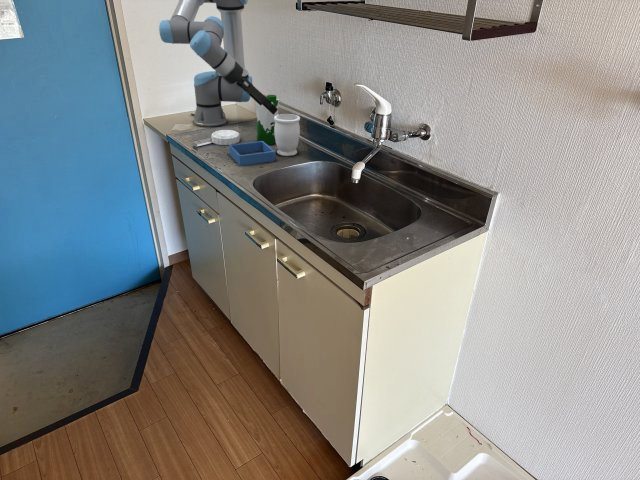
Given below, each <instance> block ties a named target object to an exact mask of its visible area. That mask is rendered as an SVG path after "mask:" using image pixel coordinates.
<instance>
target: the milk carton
mask: <svg viewBox="0 0 640 480" xmlns="http://www.w3.org/2000/svg"><path fill="white" fill-rule="evenodd" d="M266 97H267V99H268V100H269V101H270V102H271V103H272V104H273V105H274V106H275V107H276V108H277V109H278V110H277V111H276V113H275V114H274V115H273V114H272V113H271V112H270V111H269V110H268V109H267V108H266V107H265V106H263V105H261V106H260V105H259V104H258V103H257V102H256V101H255V100H254V104H255V111H256V142H259V141H264V142H265V143H266V144H267V145H271V146H272V145H274V144H276V141H275V135H274V127H275V122H276V121H275V120H274V117H275V116H276V115H279V107H280V99H278V98H277V95H276V94H267V95H266Z"/></svg>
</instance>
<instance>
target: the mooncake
mask: <svg viewBox="0 0 640 480" xmlns="http://www.w3.org/2000/svg"><path fill="white" fill-rule="evenodd" d="M210 135H211V142H212V143H213V144H214V145H217V146H229V145H234V144H239V142H240V140H241V139H240V136H241V135H240V133H239V132H238V131H237V130H233V129H219V130H216V131H213V132H212V134H210Z"/></svg>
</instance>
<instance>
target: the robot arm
mask: <svg viewBox="0 0 640 480" xmlns="http://www.w3.org/2000/svg"><path fill="white" fill-rule="evenodd" d="M204 4H215V5H216V10H217V11H218V12H219V13H220V18H219V17H217V16H215V15H212V16H208V17H206V18H205V20H204V21H195V19H196V16H197V14H198V12H199V10H200V7H201V6H203V5H204ZM247 4H248V0H178V2H177V4H176V7H175V8H174V11H173V13H172V15H171V18H170V20H169V19H165V20H161V21H160V22H159V25H158V31H159V36H160V39H161V41H162V42H163V43H165V44H172V45H174V44H176V45H177V44H178V45H180V44H181V45H189V47H190V48H191V50H192V51H193V52H194V53H195V54H196V55H197V56H198V57H199V58H201V60H203V61H204V62H205V63H206V64H207V65H208V66H209V67H211V68H212V69H213V70H211V71H210V70H209V71H203V72H200V73H197V74H195V76H194V77H193V88H194V96H195V104H196V107H195V112H194V113H190V115H191V116H193V123H194V125H196V126H198V127H203V128H214V127H216V128H217V127H220V126H224V125H225V124H227V117H226V114H225V112H224V110H223V107H222V102H224V103H225V102H228V103H230V102H231V103H248V102H249V101H250V100H251V98H252V99H253V100H254V102H255V101H256V102H257V103H258V104H259V105H260V106H261V105H263V106H265V107H266V108H267V109H268V110H269V111H270V112H271V113H272V114H273V115H274V114H275V113H276V111H277V110H278V111H279V109H277V108H276V107H275V106H274V105H273V104H272V103H271V102H270V101H269V100H268V99H267V96H265V94H263V93H262V92H261V91H260V90H259V89H258V88H256V87H255V86H254V84H253V77H252V76H251V75H249V71H248V69H246V67H245V66H246V65H245V53H244V35H243V22H242V20H243V19H242V12H243V11H244V10H245V5H247ZM222 43H223V47H222Z"/></svg>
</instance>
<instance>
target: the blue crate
mask: <svg viewBox="0 0 640 480" xmlns="http://www.w3.org/2000/svg"><path fill="white" fill-rule="evenodd" d="M228 150H229V151H228V154H229V156H230V157H231V158H232V159H233V160H234V161H235V163H237V165H238V166H240V167H242V166H249V165H250V166H251V165H255V164H263V163H271V162H275V161H276V150H274V149H273V148H272V147H271V146H269V144H266V143H265V142H264V141H259V142H257V141H251V142H243V143H242V142H241V143H236V144H232V145H228Z"/></svg>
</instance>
